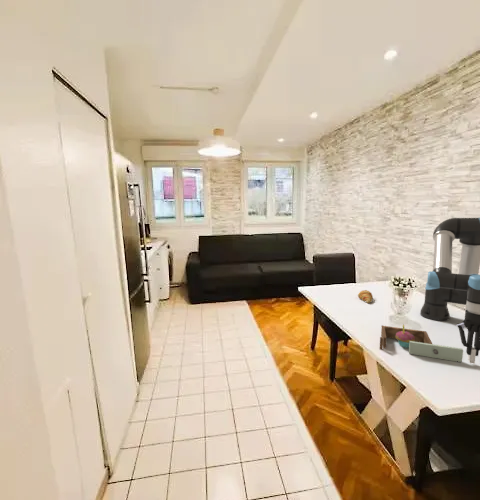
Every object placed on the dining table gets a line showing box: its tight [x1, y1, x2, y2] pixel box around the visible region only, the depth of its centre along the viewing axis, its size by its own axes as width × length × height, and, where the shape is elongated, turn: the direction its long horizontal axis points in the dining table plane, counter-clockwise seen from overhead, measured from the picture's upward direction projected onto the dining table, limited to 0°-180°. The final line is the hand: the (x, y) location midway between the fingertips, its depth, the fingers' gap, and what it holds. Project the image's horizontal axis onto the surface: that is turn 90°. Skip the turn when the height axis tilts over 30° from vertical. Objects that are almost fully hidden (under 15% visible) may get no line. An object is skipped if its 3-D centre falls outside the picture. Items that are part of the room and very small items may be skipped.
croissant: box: [357, 289, 374, 304], centre depth 204 cm, size 21×10×8 cm, turn 169°
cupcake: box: [395, 323, 415, 349], centre depth 136 cm, size 9×8×12 cm
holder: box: [379, 325, 433, 350], centre depth 136 cm, size 22×16×6 cm
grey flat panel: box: [408, 341, 464, 363], centre depth 124 cm, size 20×3×6 cm, turn 66°
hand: (471, 361), depth 119 cm, fingers closed
